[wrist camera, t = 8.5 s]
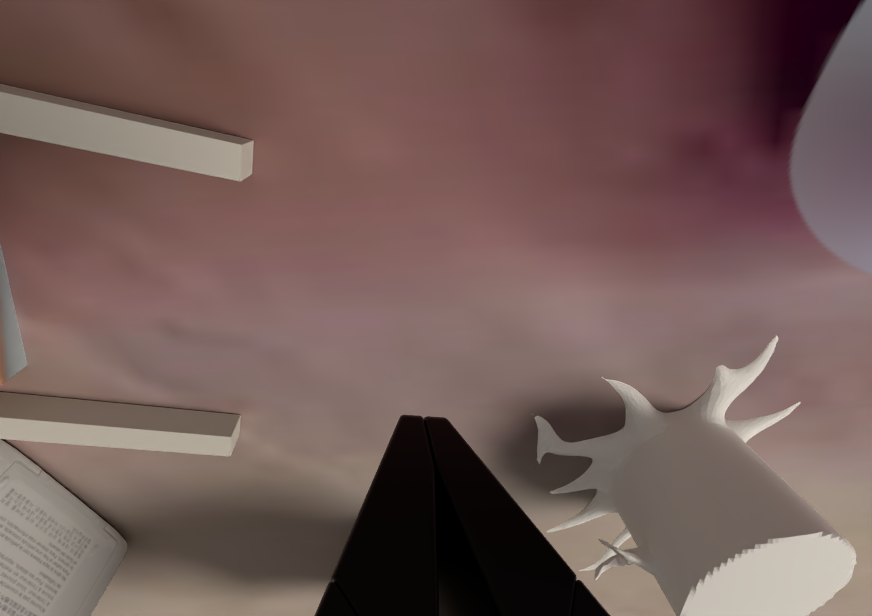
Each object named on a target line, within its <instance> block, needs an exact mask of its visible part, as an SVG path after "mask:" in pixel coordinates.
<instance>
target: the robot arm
mask: <svg viewBox="0 0 872 616" xmlns="http://www.w3.org/2000/svg"><path fill="white" fill-rule="evenodd" d="M315 616H610V615H609V614H608V612H607V611H606V610H605V609H604V608H603V607H602V606H601V604H600V603H599V602H598V601H597V600H596V598H595V597H594V596H593V595H592V593H591V592H590V591H589V590H588V589H587V587H586V586H585V585H584V584H583V583H582V581H580V580H577V581H576V575H575V573H574V572H573V571H572V570H571V568H570V567H569V566H568V565H567V564H566V562H565V561H564V560H563V559H562V557H561V556H560V555H559V554H558V553H557V551H556V550H555V549H554V548H553V547H552V545H551V544H550V543H549V542H548V540H547V539H546V538H545V537H544V536H543V534H542V533H541V532H540V531H539V530H538V528H537V527H536V526H535V525H534V524H533V522H532V521H531V520H530V519H529V517H528V516H527V515H526V514H525V513H524V511H523V510H522V509H521V508H520V507H519V505H518V504H517V503H516V502H515V501H514V499H513V498H512V497H511V496H510V494H509V493H508V492H507V491H506V490H505V488H504V487H503V486H502V485H501V484H500V482H499V481H498V480H497V479H496V477H495V476H494V475H493V474H492V473H491V471H490V470H489V469H488V468H487V467H486V465H485V464H484V463H483V462H482V461H481V459H480V458H479V457H478V456H477V454H476V453H475V452H474V451H473V450H472V448H471V447H470V446H469V445H468V444H467V442H466V441H465V440H464V439H463V438H462V436H461V435H460V434H459V433H458V431H457V430H456V429H455V428H454V427H453V425H452V424H451V423H450V422H449V421H448V420H447V419H446V418H443V417H429V416H428V417H425V418H424V419H423V418H422V417H421V416H414V415H402V416H401V417H400V418H399V421H398V423H397V425H396V428H395V430H394V432H393V435H392V437H391V439H390V442H389V444H388V446H387V449H386V451H385V453H384V456H383V458H382V460H381V463H380V465H379V467H378V470H377V472H376V474H375V477H374V479H373V481H372V484H371V486H370V488H369V491H368V493H367V495H366V498H365V500H364V502H363V505H362V507H361V509H360V512H359V514H358V516H357V519H356V521H355V523H354V526H353V528H352V530H351V533H350V535H349V537H348V540H347V542H346V544H345V547H344V549H343V551H342V554H341V556H340V558H339V561H338V563H337V565H336V568H335V570H334V572H333V575H332V577H331V582H330V583H329V584H328V586H327V588H326V590H325V593H324V595H323V597H322V600H321V602H320V604H319V607H318V609H317V611H316V614H315Z"/></svg>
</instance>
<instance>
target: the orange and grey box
mask: <svg viewBox="0 0 872 616" xmlns="http://www.w3.org/2000/svg"><path fill="white" fill-rule="evenodd" d="M25 366H27V361H26V357H25V352H24V348H23V343H22V339H21V334H20V330H19V325H18V321H17V316H16V312H15V307H14V303H13V298H12V294H11V289H10V285H9V280H8V276H7V271H6V267H5V262H4V258H3V253H2V249H1V244H0V386H1V385H2V384H4V383H5V382H6V381H7V380H9V379H10V378H11V377H13V376H14V375H15V374H16V373H18V372H19V371H20V370H22V369H23V368H24V367H25Z"/></svg>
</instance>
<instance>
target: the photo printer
mask: <svg viewBox="0 0 872 616" xmlns="http://www.w3.org/2000/svg"><path fill="white" fill-rule="evenodd" d="M126 551H127V543H126V541H125V540H124V539H123V537H122V536H121V535H120V534H119V533H118V532H117V531H116V530H115V529H114V528H113V527H112V526H110V525H109V524H108V523H107V522H105V521H104V520H103V519H102V518H101V517H100V516H98V515H97V514H96V513H95V512H93V511H92V510H91V509H90V508H88V507H87V506H86V505H85V504H84V503H83V502H81V501H80V500H79V499H78V498H76V497H75V496H74V495H73V494H71V493H70V492H69V491H68V490H67V489H65V488H64V487H63V486H62V485H60V484H59V483H58V482H57V481H55V480H54V479H53V478H52V477H50V476H49V475H48V474H47V473H45V472H44V471H43V470H42V469H41V468H40V467H39V466H37V465H36V464H35V463H33V462H32V461H31V460H29V459H28V458H27V457H26V456H24V455H23V454H22V453H20V452H19V451H18V450H16V449H15V448H13V447H12V446H10V445H9V444H7V443H6V442H4V441H3V440H1V439H0V616H91V614H92V612H93V610H94V608H95V607H96V605H97V603H98V602H99V600H100V598H101V597H102V595H103V593H104V591H105V589H106V588H107V586H108V584H109V583H110V581H111V579H112V577H113V575H114V574H115V572H116V570H117V568H118V567H119V565H120V563H121V561H122V559H123V558H124V555H125V553H126Z"/></svg>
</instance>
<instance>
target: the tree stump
mask: <svg viewBox="0 0 872 616" xmlns="http://www.w3.org/2000/svg"><path fill="white" fill-rule="evenodd" d="M777 341H778V337H777V336H776V337H775V338H774V339H773V340H772V341H771V342H770V343H769V345H768V346H767V348H766V349H765V350H764V351H763V352H762V353H761V354H760V356H759V357H758V358H757V359H755V360H754V361H753V362H752V363H750V364H749V365H747V366H745V367H743V368H740V369H736V370H735V369H728V368H727V367H725V366H724V365H721V366H718V367H717V369H716V371H715V376H714V379H713V381H712V384H711V385H710V387H709V388H708V389H707V391H706V392H705V393H704V394H703V395H702V396H701V397H700V398H699V399H698V400H697V401H695V402H694V403H693V404H692V405H690V406H688V407H687V408H685V409H682V410H679V411H675V412H670V413H663V412H660V411H658V410H656V409H655V408H654V407H653V406H652V405H651V404H650V403H649V401H648V400H647V399H646V398H645V397H644V396H643V395H642V394H640V393H639V392H638V391H637V390H636V389H634V388H633V387H631V386H630V385H627V384H625V383H623V382H620V381H615V380H609V379H605V380H606V381H608V382H609V383H610V384H611V385H612V386H613V388H614V389H615V390H616V391H617V392H618V393H619V394H620V396H621V397H622V399H623V401H624V404H625V409H626V418H625V425H624V427H623V428H622V429H621V430H619V431H618V432H615V433H612V434H609V435H605V436H601V437H596V438H592V439H587V440H583V441H579V442H573V443H569V442H565V441H563V440H561V439H560V438H559V437H558V436H557V434H556V433H555V431H554V430H553V428H552V427H551V425H550V424H549V423H548V421H546V420H545V419H543V418H542V417H539V416H536V417H534V418H535V420H536V423H537V427H538V444H537V456H538V458H537V459H536V460H537V461H538V462H539V464H540V462H541V458H542V457H543V455H544V454H545V453H549V452H550V453H553V454H557V455H564V456H584V457H590V458H592V464H591V466H590V467H589V468H588V469H587V471H586V472H585V473H584V474H583V475H581V476H580V477H579V478H577V479H576V480H574V481H573V482H571V483H569V484H567V485H565V486H563V487H560V488H558V489H556V490H553V491H550V492H549V493H551V494H559V493H568V492H575V491H580V490H586V489H597V493H596V495H595V497H594V498H593V500H592V501H591V502H590V503H589V505H588V506H587V507H586V508H585V509H584V510H583V511H582V512H580V513H579V514H577V515H576V516H574V517H573V518H571V519H570V520H568V521H566V522H564V523H563V524H561V525H559V526H557V527H554V528H552V529H549V531H546V532H553V531H557V530H561V529H566V528H569V527H572V526H576V525H579V524H582V523H584V522H587V521H590V520H592V519H595V518H597V517H600V516H603V515H606V514H609V513H614V512H616V513H619V515H620V516H621V518H622V520H623V522H624V524H625V525H626V528H625V530H624V531H623V532H622V533H621V534H620V535H619V536H618V537H617V538H616V539H615V540H614V541H613V543H612V544H611V545H610V544H609V543H607V542H605V541H603V540H600V539H598V540H599V541H600V542H601V543H602V544H603V545H605V546H607V547H608V550H607V551H606V552H605V554H604V556H603V557H602V558H601V559H600V560H599V561H598V562H597V563H595V564H594V565H591V566H590V567H587V568H585V569H583V570H579V571H587V570H593V569H596V570H595V579H594V580H597V579H598V578H599V576H600V575H601V573H603V572H604V571H605V570H607V569H609V568H611V567H614V566H624V565H626V564H627V565H630V564H632V563H634V564H636V565H638V566H639V567H641V568H643V569H644V570H646V571H647V572H649V573H651V574H652V575H654V577H655V578H656V580H657V582H658V584H659V585H660V587H661V589H662V591H663V592H664V594H665V596H666V598H667V599H668V601H669V603H670V605H671V607H672V608H673V610H674V612H675V614H676V615H677V616H808V615H809V614H810V612H813V611H815V610H816V609H817V608H818V607H819V606H823V605H824V604H825V602H826V601H827V600H829V599H832V598H833V596H834V594H835V593H836V592H837V591H839V590H840V589H841V588H843V587H844V586H845V585H846V584H847V583H848V581H849V580H850V578H851V577H852V574H853V569H854V566H855V564H856V563H857V562H856V559H855V558H856V557H857V556H856V554H855V550H854V548H853V546H852V545H851V544H850V543H849V542H848V541H847V540H846V539H845V538H844V537H843V536H842V535H841V534H840V533H839V532H838V531H837V530H836V529H835V528H834V527H833V526H832V525H831V524H830V523H829V522H827V521H826V520H825V519H824V518H823V517H822V516H821V515H820V514H819V513H818V512H817V511H816V510H815V509H814V508H813V507H812V506H811V505H810V504H809V503H808V502H807V501H806V500H805V499H803V498H802V497H801V496H800V495H799V494H798V493H797V492H796V491H795V490H794V489H793V488H792V487H791V486H790V485H789V484H788V483H787V482H786V481H785V480H784V479H783V478H782V477H781V476H780V475H778V474H777V473H776V472H775V471H774V470H773V469H772V468H771V467H770V466H769V465H768V464H767V463H766V462H765V461H764V460H763V459H762V458H761V457H760V456H759V455H758V454H757V453H756V452H754V451H753V450H752V449H751V448H750V447H749V446H748V445H747V444H746V442H747V441H748V440H749V439H750V438H751V437H753V436H754V435H756V434H757V433H759V432H760V431H762V430H763V429H765V428H767V427H769V426H771V425H773V424H774V423H776V422H778V421H779V420H781V419H782V418H784V417H786V416H787V415H788V414H789V413H791V412H792V411H793V410H794V409H795V408H796V407H797V406H798V405H799V404H800V403H801V402H799V403H797V404H795V405H793V406H791V407H789V408H788V409H785V410H783V411H781V412H778V413H775V414H772V415H768V416H763V417H758V418H753V419H747V420H735V421H733V420H725V418H724V415H725V412H726V410H727V408H728V406H729V405H730V404H731V402H732V401H733V400H734V399H735V398H736V397H737V396H738V395H739V394H740V393H741V392H742V391H744V390H745V389H746V388H747V387H748V386H749V385H750V384H751V383H752V382H753V381H754V380H755V379H756V377H757V376H758V375H759V374H760V373H761V372H762V370H763V369H764V367H765V366H766V364H767V363H768V361H769V359H770V357H771V355H772V353H773V351H774V349H775V346H776V343H777ZM602 378H603V377H602ZM603 379H604V378H603ZM532 415H534V414H532ZM536 468H537V467H536ZM631 536H632V538H633V539H634V541H635V543H636V545H637V548H633V549H627V550H620V549H618V548H619V546H620V545H621V544H622V543H623V542H624V541H625V540H627V539H628V538H629V537H631Z"/></svg>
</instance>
